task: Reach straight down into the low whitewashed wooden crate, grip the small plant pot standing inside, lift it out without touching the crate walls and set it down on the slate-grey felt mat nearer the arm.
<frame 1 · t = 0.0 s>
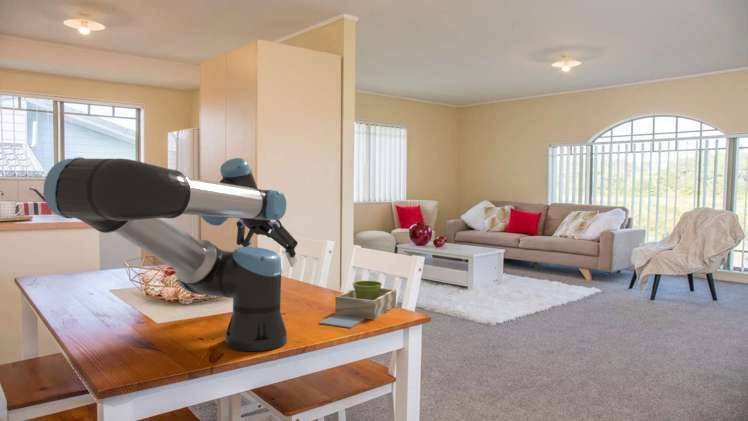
hand: (274, 262, 163), 15 cm above the table, tool tilted 35°, fingers open, 13 cm apart
plant pot: (366, 310, 168), resting in crate
mat: (342, 321, 153), on the table
crate: (366, 310, 168), on the table
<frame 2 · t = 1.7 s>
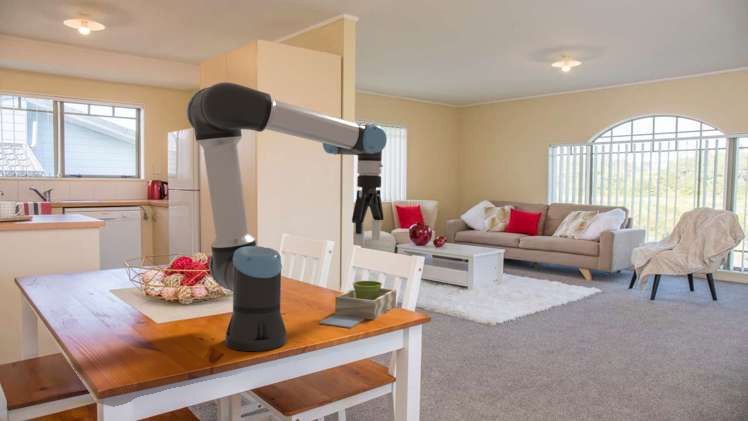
hand: (368, 242, 166), 22 cm above the table, tool pointing down, fingers open, 13 cm apart
nothing on the table moved.
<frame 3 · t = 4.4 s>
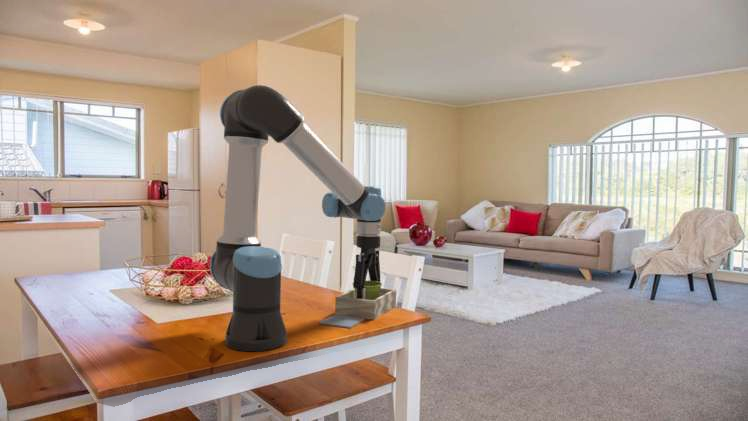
hand: (366, 305, 168), 2 cm above the table, tool pointing down, fingers closed on plant pot, 9 cm apart
plant pot: (366, 310, 168), resting in crate, touching gripper
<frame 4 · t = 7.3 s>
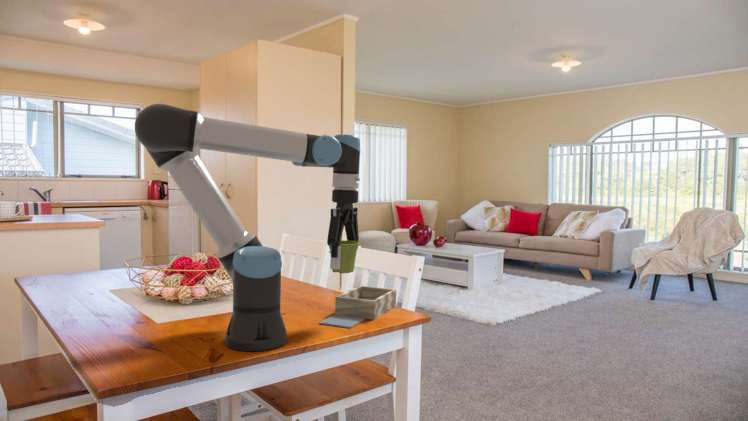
hand: (342, 266, 153), 16 cm above the table, tool pointing down, fingers closed on plant pot, 9 cm apart
plant pot: (342, 272, 153), point 14 cm above the table, touching gripper
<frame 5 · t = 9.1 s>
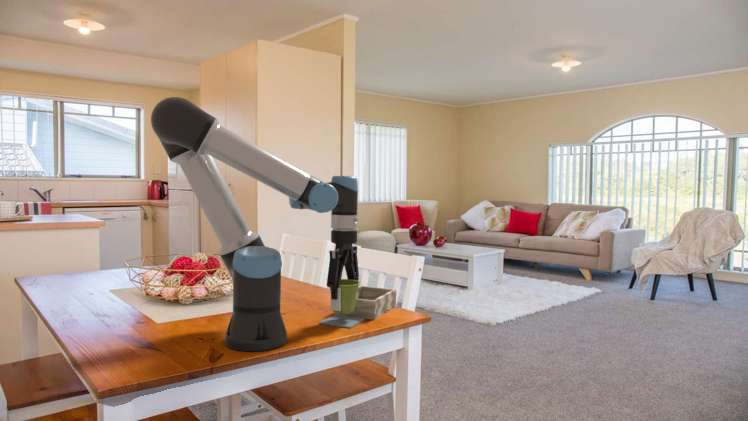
hand: (343, 306, 153), 5 cm above the table, tool pointing down, fingers closed on plant pot, 9 cm apart
plant pot: (343, 312, 153), point 3 cm above the table, touching gripper
when the fingers open (2 cm above the table, at t = 10.4 s): plant pot stays where it is, resting on mat.
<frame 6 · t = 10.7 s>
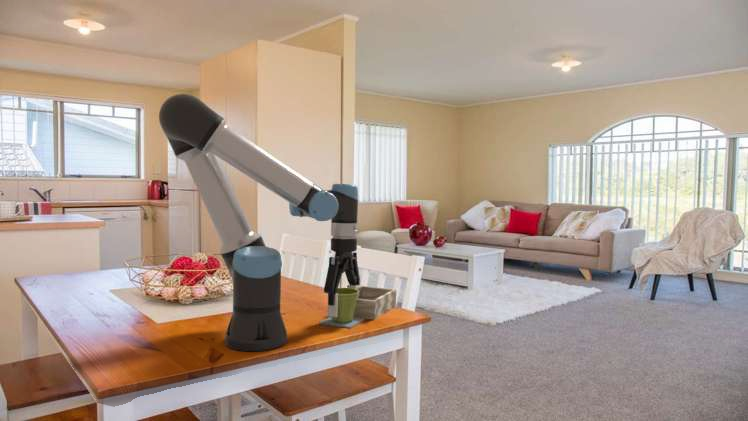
hand: (342, 311, 153), 3 cm above the table, tool pointing down, fingers open, 12 cm apart
plant pot: (342, 321, 153), resting on mat
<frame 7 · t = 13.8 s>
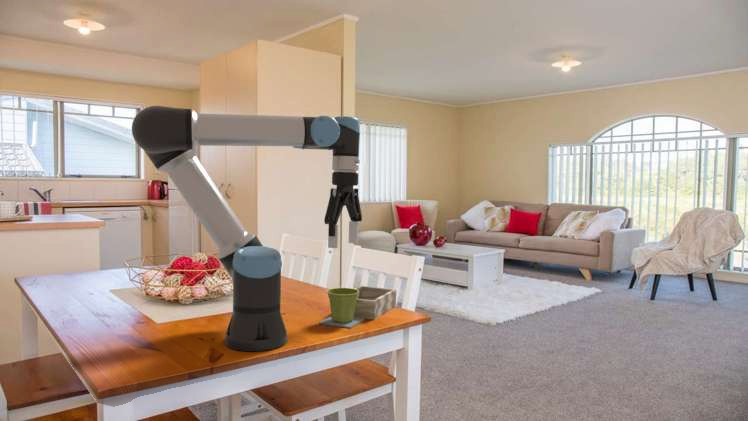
hand: (343, 245, 152), 22 cm above the table, tool pointing down, fingers open, 13 cm apart
nothing on the table moved.
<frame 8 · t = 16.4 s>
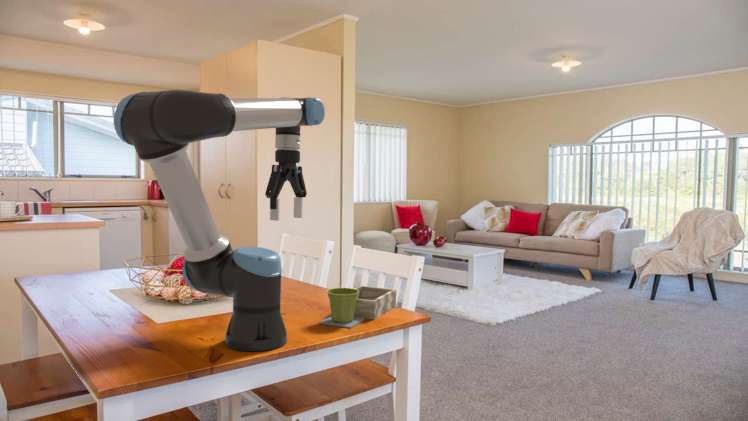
hand: (286, 219, 162), 29 cm above the table, tool pointing down, fingers open, 13 cm apart
nothing on the table moved.
at the end: plant pot inside the target area on the mat (0.1 cm from its centre), point 0.2 cm above the mat's base; plant pot tilted 0°; plant pot touching mat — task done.
